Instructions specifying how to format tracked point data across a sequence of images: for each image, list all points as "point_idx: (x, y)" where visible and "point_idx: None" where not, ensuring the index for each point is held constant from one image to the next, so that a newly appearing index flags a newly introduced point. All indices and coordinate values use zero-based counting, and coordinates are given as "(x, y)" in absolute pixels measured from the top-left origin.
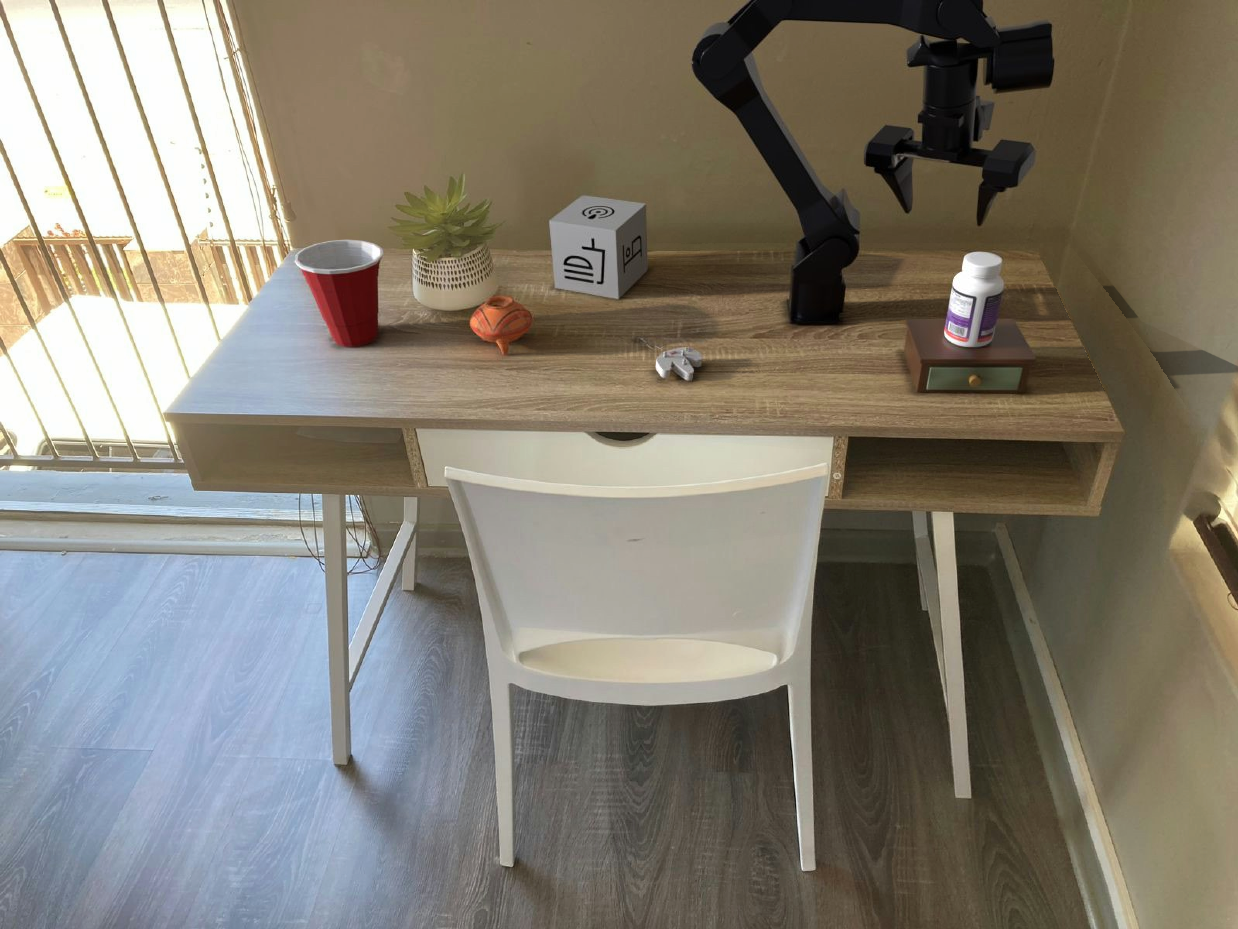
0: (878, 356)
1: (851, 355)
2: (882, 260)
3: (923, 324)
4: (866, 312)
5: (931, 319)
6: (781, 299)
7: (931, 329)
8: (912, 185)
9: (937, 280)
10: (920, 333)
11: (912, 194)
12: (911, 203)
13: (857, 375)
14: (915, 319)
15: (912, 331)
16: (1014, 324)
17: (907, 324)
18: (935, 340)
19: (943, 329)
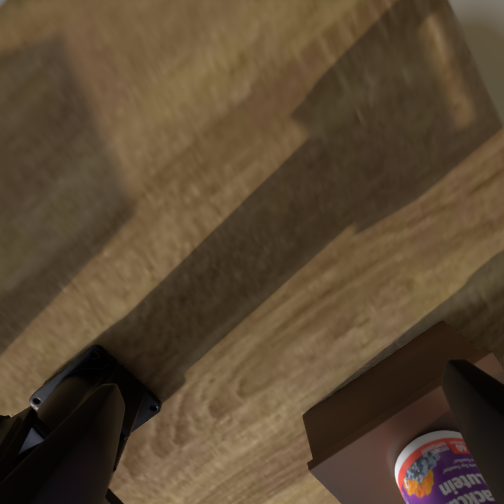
0: (274, 442)
1: (238, 463)
2: (25, 82)
3: (347, 470)
4: (170, 336)
5: (350, 446)
6: (14, 388)
7: (367, 475)
8: (39, 497)
9: (200, 106)
10: (357, 497)
11: (78, 449)
12: (104, 417)
13: (277, 497)
14: (325, 463)
15: (341, 499)
16: (500, 374)
17: (320, 481)
18: (389, 500)
19: (386, 463)
